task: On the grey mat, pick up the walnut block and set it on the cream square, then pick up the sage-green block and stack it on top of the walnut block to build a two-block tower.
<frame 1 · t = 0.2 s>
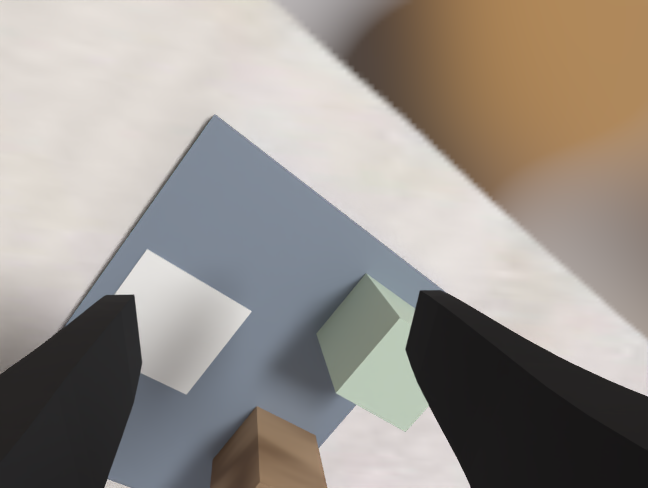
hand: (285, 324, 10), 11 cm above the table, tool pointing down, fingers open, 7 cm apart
grey mat: (234, 355, 22), on the table
walnut block: (265, 447, 23), point 1 cm above the table, touching grey mat
sage block: (369, 323, 22), point 1 cm above the table, touching grey mat
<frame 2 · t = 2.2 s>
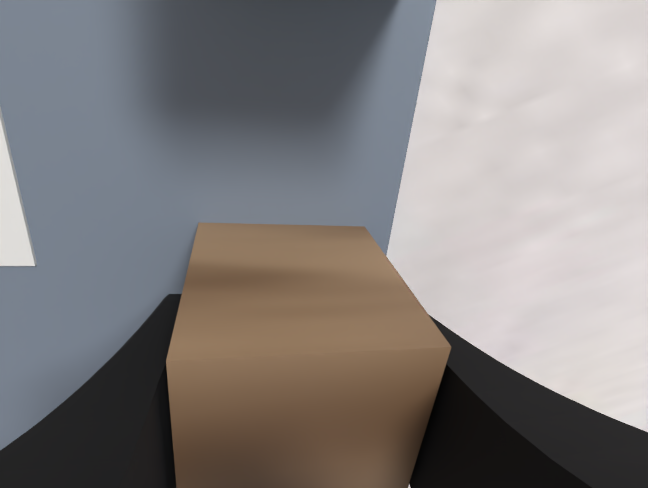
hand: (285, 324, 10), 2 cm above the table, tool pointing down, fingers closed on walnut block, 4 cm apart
grey mat: (71, 137, 9), on the table
walnut block: (280, 294, 11), point 1 cm above the table, touching grey mat, gripper
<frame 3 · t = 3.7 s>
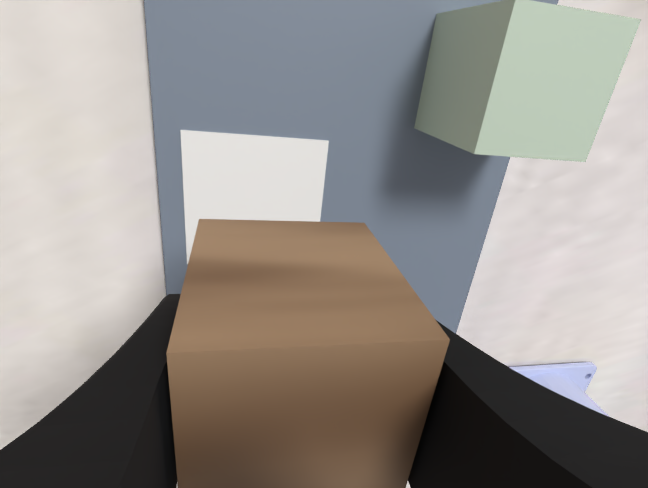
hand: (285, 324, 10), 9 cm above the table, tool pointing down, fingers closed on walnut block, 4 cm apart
grey mat: (339, 202, 19), on the table
walnut block: (280, 291, 11), point 8 cm above the table, touching gripper
sage block: (471, 79, 17), point 1 cm above the table, touching grey mat
when the fingers open (4 cm above the table, at t = 5.3 s): walnut block drops 1 cm, resting on grey mat.
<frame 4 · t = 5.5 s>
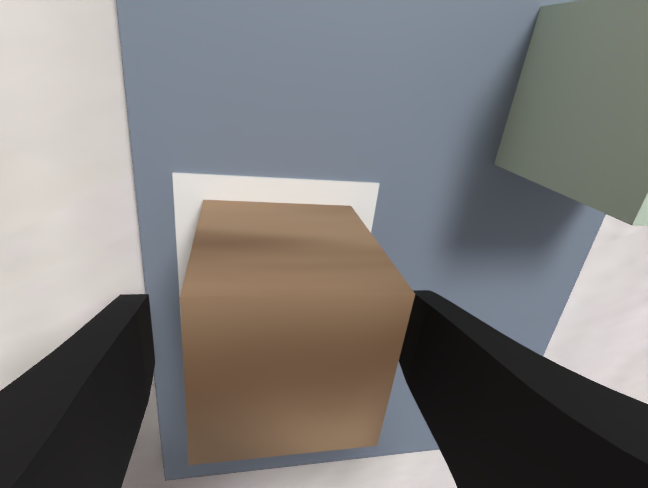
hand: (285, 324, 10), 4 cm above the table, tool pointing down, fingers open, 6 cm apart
grey mat: (385, 259, 14), on the table
walnut block: (275, 267, 13), point 1 cm above the table, touching grey mat
sage block: (576, 98, 12), point 1 cm above the table, touching grey mat
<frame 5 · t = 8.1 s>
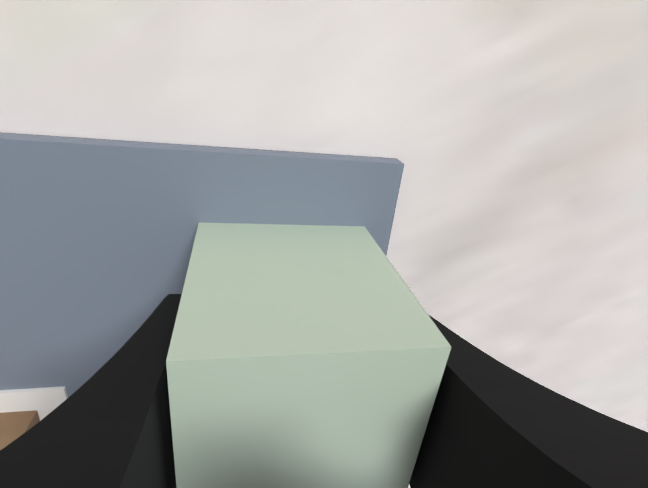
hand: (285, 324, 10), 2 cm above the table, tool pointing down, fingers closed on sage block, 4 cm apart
grey mat: (120, 436, 13), on the table
sage block: (280, 294, 11), point 1 cm above the table, touching grey mat, gripper
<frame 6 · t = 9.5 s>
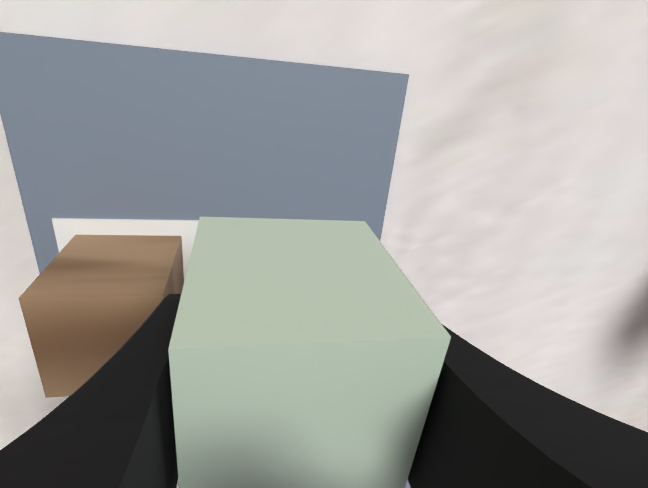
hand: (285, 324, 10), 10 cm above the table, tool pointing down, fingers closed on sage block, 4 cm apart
grey mat: (222, 270, 20), on the table
walnut block: (134, 277, 18), point 1 cm above the table, touching grey mat
sage block: (281, 289, 11), point 8 cm above the table, touching gripper
when the fingers open (8 cm above the table, at t = 10.8 s): sage block stays where it is, resting on walnut block.
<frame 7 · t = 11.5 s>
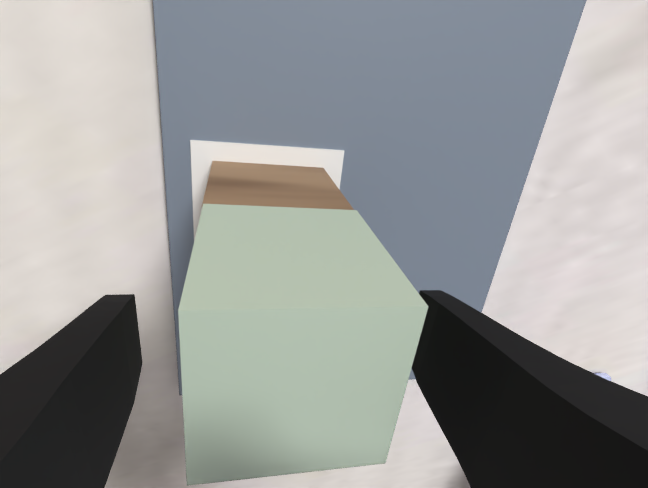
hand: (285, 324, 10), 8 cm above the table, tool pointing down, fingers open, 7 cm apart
grey mat: (353, 213, 18), on the table
walnut block: (266, 215, 16), point 1 cm above the table, touching grey mat, sage block
sage block: (278, 273, 12), point 6 cm above the table, touching walnut block
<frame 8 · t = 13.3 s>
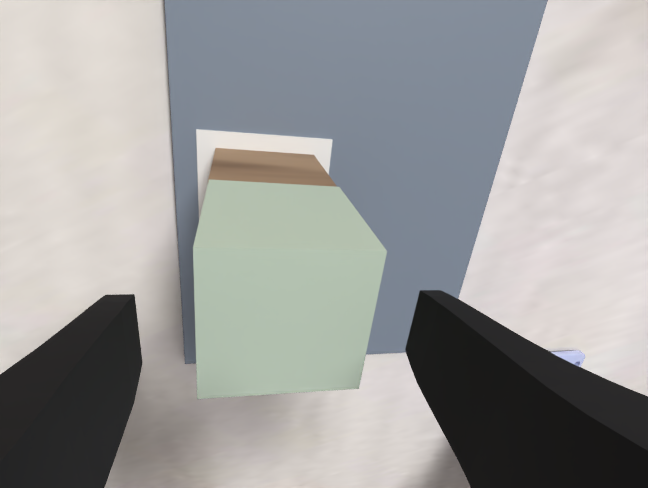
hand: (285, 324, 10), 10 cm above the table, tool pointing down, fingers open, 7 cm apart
grey mat: (341, 197, 20), on the table
walnut block: (263, 197, 18), point 1 cm above the table, touching grey mat, sage block
sage block: (272, 241, 14), point 6 cm above the table, touching walnut block
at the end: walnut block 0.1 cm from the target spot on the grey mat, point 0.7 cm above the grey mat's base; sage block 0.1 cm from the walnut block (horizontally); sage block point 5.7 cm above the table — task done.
